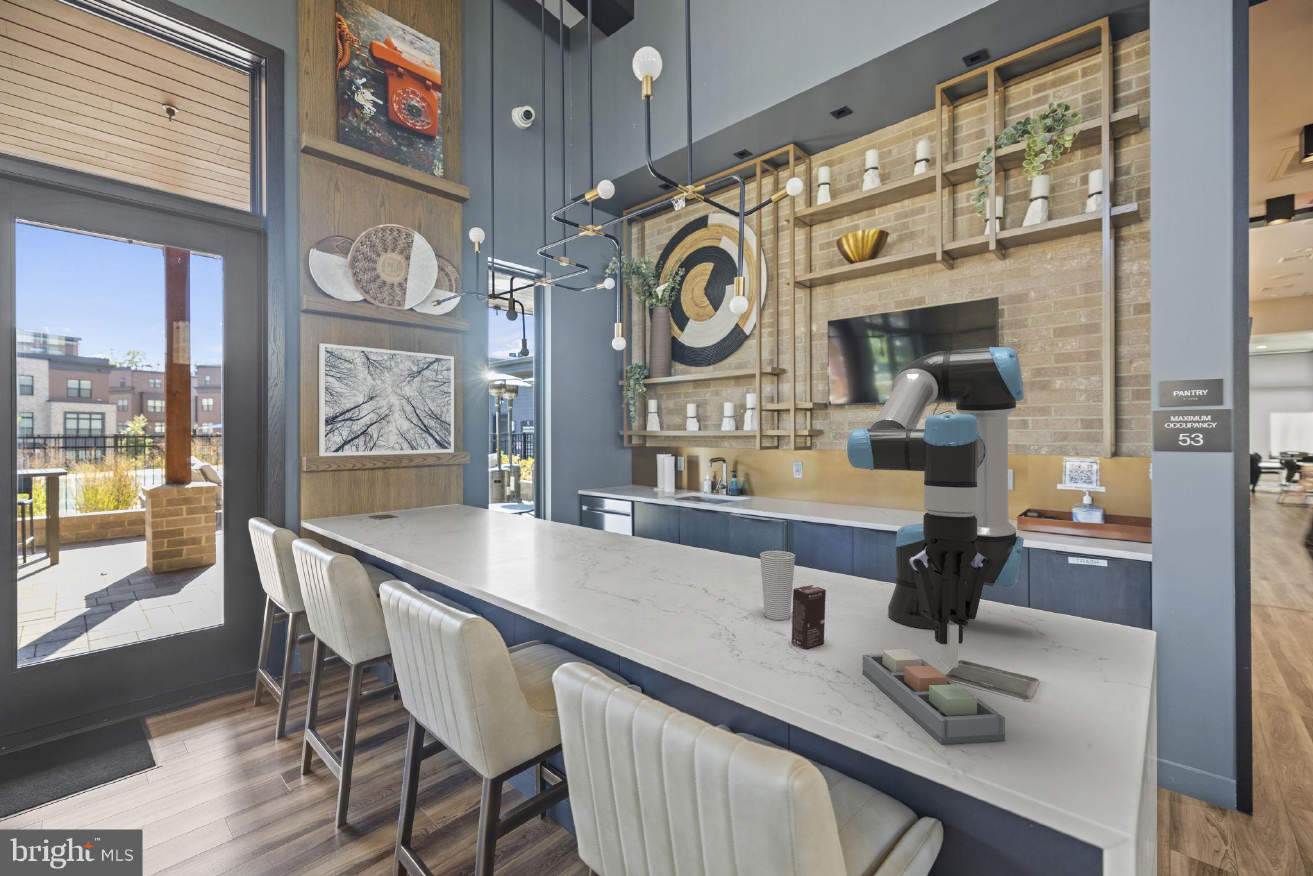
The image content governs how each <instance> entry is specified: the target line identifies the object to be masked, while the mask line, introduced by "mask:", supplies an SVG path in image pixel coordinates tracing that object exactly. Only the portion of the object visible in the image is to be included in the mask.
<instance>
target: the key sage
mask: <svg viewBox="0 0 1313 876" xmlns="http://www.w3.org/2000/svg"><path fill="white" fill-rule="evenodd" d="M969 692H970V691H968V690H967V689H965V688H964V687H962V686H961V685H959V684H958V683H957V684H950V685H929V702H931V703H932V704H933V705H934V706H936V707H937V708H938V709H939V710H941V711H942V712H943V713H944V714H946V715H947V716H953V715H972V714H977V698H978V697H976V696H975V695H974V694H972V693H971V692H970V693H969Z"/></svg>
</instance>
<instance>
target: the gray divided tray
mask: <svg viewBox="0 0 1313 876" xmlns="http://www.w3.org/2000/svg"><path fill="white" fill-rule="evenodd" d="M882 663H883V653H882V654H879V653H878V654H862V674H863V675H864V676H865V677H866V678H867V679H868V680H869V681H871V682H872V684H874V685H875V686H876V687H877V688H878V690H880V691H881V692H882V693H884V694H885V696H887V697H888V698H889V699H890V700H891V701H892V702H893V703H895V704H896V705H897V706H898V707H899V708H900V709H901V710H902V711H903V712H905V714H907V715H908V716H909V717H910V718H911V719H912V720H913V721H915V723H917V724H918V725H919V726H920V727H921V728H923V730H925V731H926V732H927V733H928V734H929V735H930V736H931V737H932V738H933V739H934V740H936V741H937V742H938V743H939V744H940V745H951V744H953V745H954V744H955V745H956V744H968V743H969V744H973V743H987V742H989V743H990V742H1005V741H1006V731H1005V730H1006V728H1005V727H1006V717H1005V716H1004V715H1003V714H1002V713H1000V712H999V711H997V710H995V709H994V708H992V707H991V706H990V705H988V704H987V703H986V702H984V701H983V700H981V699H980V698H978V697H977V714H972V715H953V716H947V715H946V714H944V713H943V712H942V711H941V710H939V709H938V708H937V707H936V706H934V705H933V704H932V703H931V702H929V691H924V692H917V691H916V690H915V689H913V688H912V687H911V686H910V685H908V684H907V683H906V682H905V681H904V672H898V673H893V672H892V671H891V670H890V669H889V668H887V667H886V666H885V665H884V664H882ZM928 665H930V664H929V663H928V662H926V661H925V660H923V659H922V666H928ZM932 667H933V666H932ZM933 668H935V667H933ZM946 677H947V685H950V684H958V683H957V682H955V681H954V680H952V679H951V678H950V677H948V676H946ZM968 692H969V693H971V692H970V691H968Z"/></svg>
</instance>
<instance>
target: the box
mask: <svg viewBox="0 0 1313 876" xmlns="http://www.w3.org/2000/svg"><path fill="white" fill-rule="evenodd" d="M826 592H827V590H826V589H825V588H822V587H819V586H817V585H816V586H815V585H813V584H811V585H806V586H800V587H795V588H792V621H791V622H792V623H791V644H792V645H794V646H796V647H798V648H802V649H810V648H813V647H817V646H820V645H824V644H825V623H826V622H825V620H826V618H825V617H826V616H825V615H826V598H827V597H826V594H827V593H826Z"/></svg>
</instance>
